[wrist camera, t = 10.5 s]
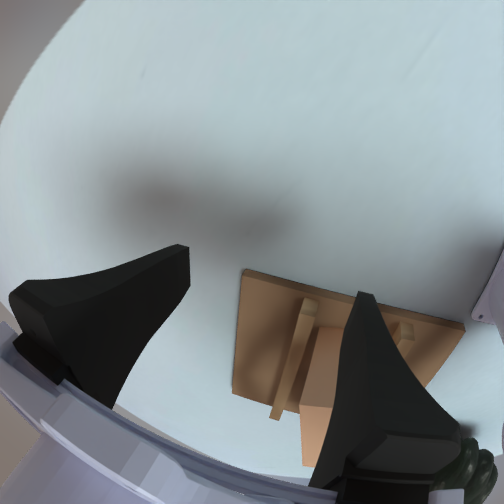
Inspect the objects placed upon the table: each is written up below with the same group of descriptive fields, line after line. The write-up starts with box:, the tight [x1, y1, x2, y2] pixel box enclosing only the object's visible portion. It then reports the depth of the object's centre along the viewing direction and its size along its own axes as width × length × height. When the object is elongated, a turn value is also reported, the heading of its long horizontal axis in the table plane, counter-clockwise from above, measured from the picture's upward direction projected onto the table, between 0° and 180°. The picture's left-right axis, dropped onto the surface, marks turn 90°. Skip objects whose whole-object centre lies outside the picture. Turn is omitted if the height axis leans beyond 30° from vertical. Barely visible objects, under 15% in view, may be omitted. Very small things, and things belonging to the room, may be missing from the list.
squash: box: [429, 437, 498, 504], centre depth 22 cm, size 14×15×15 cm
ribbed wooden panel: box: [232, 269, 466, 421], centre depth 26 cm, size 20×18×3 cm
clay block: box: [299, 327, 344, 467], centre depth 23 cm, size 2×12×8 cm, turn 9°
